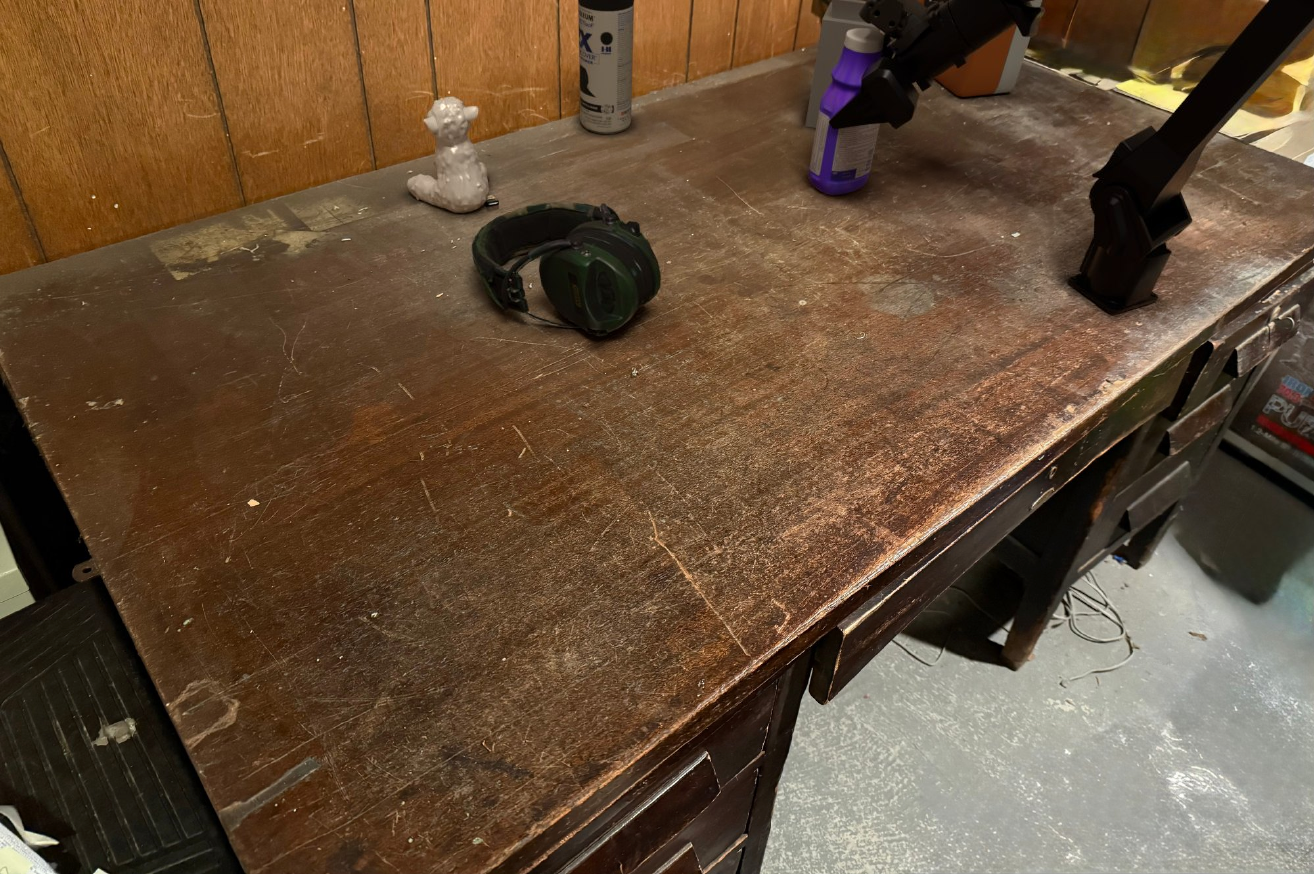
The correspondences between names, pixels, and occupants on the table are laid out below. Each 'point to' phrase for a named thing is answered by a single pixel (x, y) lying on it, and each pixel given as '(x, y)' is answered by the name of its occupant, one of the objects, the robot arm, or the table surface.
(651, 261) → the headphones
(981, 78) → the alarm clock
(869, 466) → the table surface
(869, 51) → the bottle
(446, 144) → the sitting furry creature
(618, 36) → the spray can
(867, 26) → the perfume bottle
